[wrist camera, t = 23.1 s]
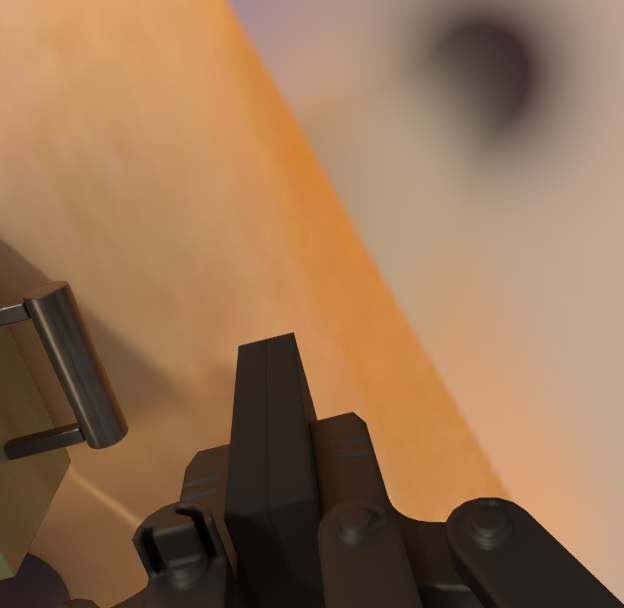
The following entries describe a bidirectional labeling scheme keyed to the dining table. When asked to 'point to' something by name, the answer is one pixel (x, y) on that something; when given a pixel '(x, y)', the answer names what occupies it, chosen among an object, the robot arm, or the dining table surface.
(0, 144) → the dining table surface
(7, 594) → the bottle
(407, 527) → the robot arm
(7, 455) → the drawer
